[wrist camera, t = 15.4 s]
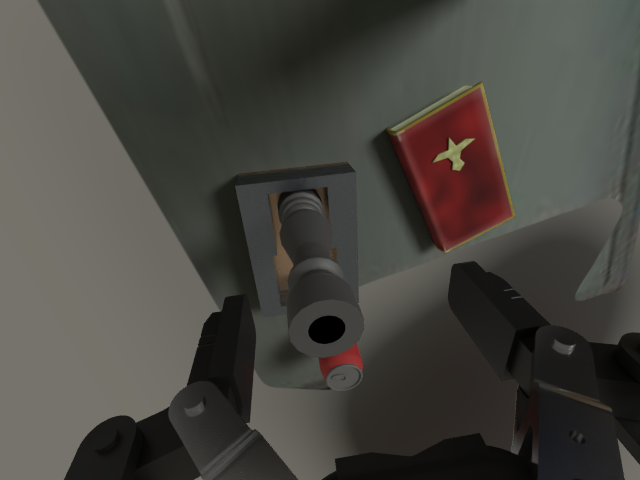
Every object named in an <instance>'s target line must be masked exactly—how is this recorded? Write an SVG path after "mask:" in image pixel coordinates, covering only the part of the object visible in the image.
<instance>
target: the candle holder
mask: <svg viewBox="0 0 640 480" xmlns="http://www.w3.org/2000/svg"><path fill="white" fill-rule="evenodd" d="M278 215H279V221H280V223H281V229H280V240H281V245H282V246H283V248H284V249H285V251H286V253H287V254H288V256H289V258H290V259H291V261H292V263H293V268H292V269H291V270H290V273H289V277H288V280H287V281H288V287H289V292H290V294H289V297H288V300H287V303H286V304H287V318H288V331H289V336H290V341H291V343H292V344H293V345H294V347H295V348H296V349H297V350H298V351H299V352H302V353H304V354H306V355H308V356H312V357H321V358H324V357H330V356H335V355H338V354H341V353H343V352H345V351H347V350H349V349H350V348H351V347H352V346H353V345H354V344H355V343H356V342H357V341H359V338H360V337H361V335H362V332H363V330H364V318H363V315H362V313H361V310H360V308H359V305H358V302H357V299H356V297H355V294H354V292H353V290H352V289H351V287H350V285H349V284H348V283H347V282H346V281H344V272H343V270H342V269H341V267H340V265H339V264H338V263H337V262H336V261H334V260H333V259H331V256H330V251H331V243H332V228H331V225H330V223H329V222H328V220H327V218H326V217H325V216H324V206H323V204H322V201H321V198H320V197H319V195H318V193H317V191H316V190H314V189H306V190H297V191H289V192H282V194H281V195H280V196H279V200H278Z"/></svg>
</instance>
